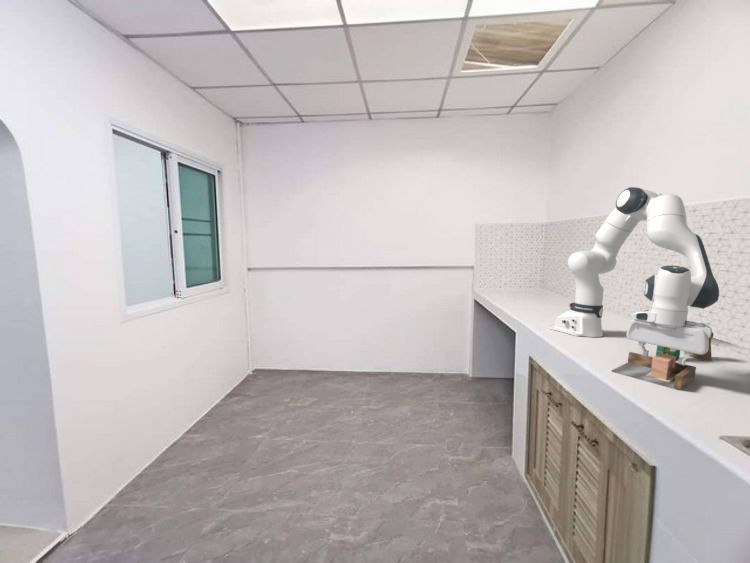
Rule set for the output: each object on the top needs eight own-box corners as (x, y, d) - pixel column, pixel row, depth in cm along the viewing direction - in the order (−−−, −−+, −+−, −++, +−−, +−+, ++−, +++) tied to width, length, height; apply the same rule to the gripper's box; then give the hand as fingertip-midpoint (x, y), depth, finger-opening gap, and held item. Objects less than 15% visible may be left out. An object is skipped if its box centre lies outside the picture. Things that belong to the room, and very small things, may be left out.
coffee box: (672, 356, 135) (676, 323, 133) (680, 359, 132) (684, 324, 130) (654, 357, 133) (658, 323, 132) (662, 360, 130) (666, 325, 129)
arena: (611, 371, 117) (612, 359, 117) (629, 362, 126) (630, 351, 126) (680, 390, 103) (681, 377, 103) (694, 379, 112) (696, 366, 112)
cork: (692, 358, 133) (696, 330, 131) (687, 354, 138) (691, 326, 137) (714, 361, 130) (718, 332, 129) (708, 357, 135) (712, 329, 134)
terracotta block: (658, 370, 117) (660, 353, 116) (673, 374, 114) (676, 356, 113) (650, 375, 112) (652, 357, 112) (666, 380, 109) (668, 361, 109)
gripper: (715, 323, 105) (708, 368, 106) (634, 310, 121) (629, 349, 123) (710, 326, 101) (703, 372, 103) (627, 312, 117) (622, 352, 119)
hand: (662, 360), depth 113 cm, fingers open, 8 cm apart
